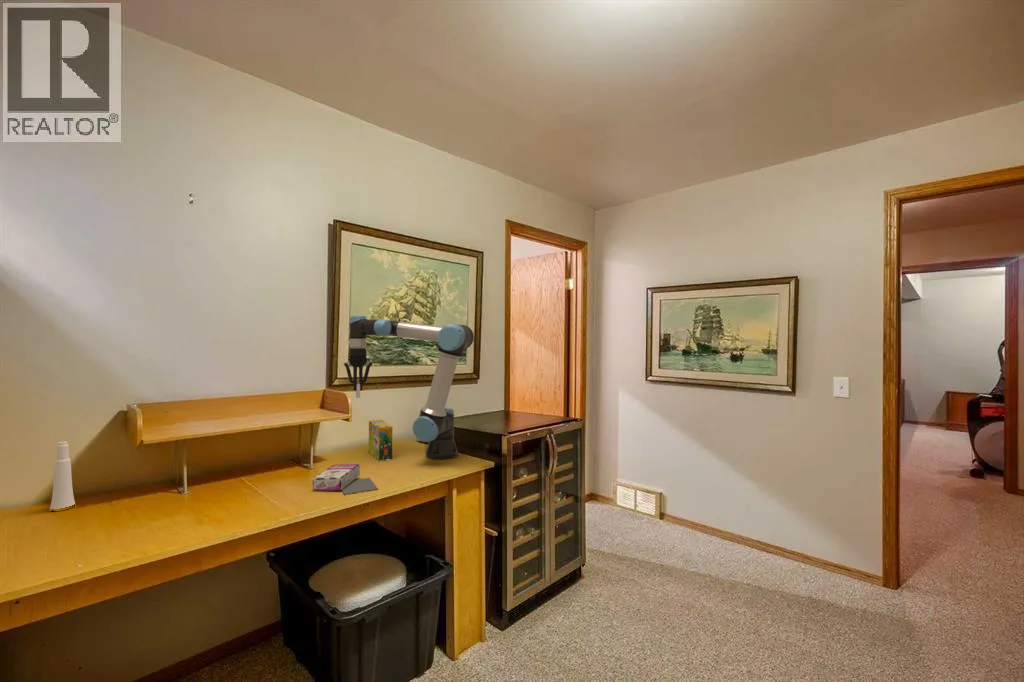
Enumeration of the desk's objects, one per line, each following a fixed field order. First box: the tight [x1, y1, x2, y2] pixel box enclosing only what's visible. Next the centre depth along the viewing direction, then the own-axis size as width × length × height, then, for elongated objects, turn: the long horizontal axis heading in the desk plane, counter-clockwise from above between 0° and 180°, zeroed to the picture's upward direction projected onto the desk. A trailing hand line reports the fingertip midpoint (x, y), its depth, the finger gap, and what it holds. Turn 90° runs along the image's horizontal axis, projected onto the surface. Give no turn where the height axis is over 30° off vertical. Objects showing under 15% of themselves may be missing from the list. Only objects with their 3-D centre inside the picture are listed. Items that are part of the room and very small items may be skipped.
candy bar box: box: [311, 463, 361, 491], centre depth 172 cm, size 11×5×16 cm
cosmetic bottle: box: [49, 440, 76, 510], centre depth 147 cm, size 6×6×22 cm
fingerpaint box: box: [368, 419, 393, 461], centre depth 214 cm, size 19×7×16 cm, turn 32°
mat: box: [341, 477, 379, 496], centre depth 170 cm, size 12×15×1 cm
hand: (357, 397), depth 211 cm, fingers closed
